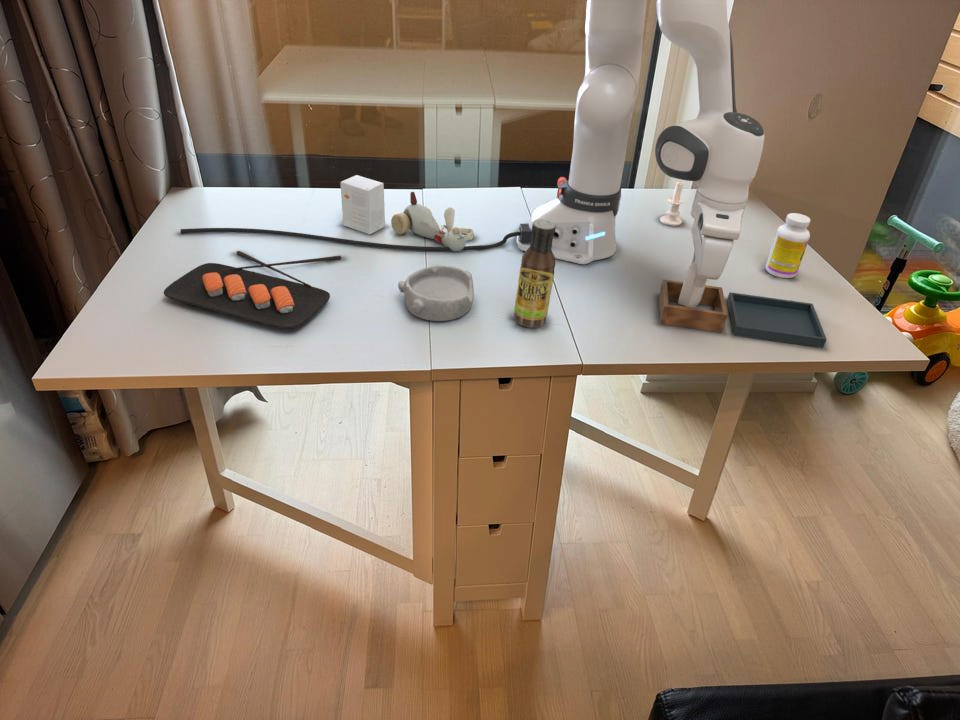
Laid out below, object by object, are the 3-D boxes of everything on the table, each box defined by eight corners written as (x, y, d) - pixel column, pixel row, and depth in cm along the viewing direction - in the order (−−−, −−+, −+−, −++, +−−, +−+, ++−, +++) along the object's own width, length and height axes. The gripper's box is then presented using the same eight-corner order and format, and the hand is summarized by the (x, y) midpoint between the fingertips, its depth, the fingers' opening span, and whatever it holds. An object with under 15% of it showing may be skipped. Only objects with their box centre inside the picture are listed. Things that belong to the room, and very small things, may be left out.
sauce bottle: (510, 326, 133) (519, 227, 121) (517, 309, 138) (527, 212, 126) (543, 332, 132) (557, 233, 120) (550, 316, 137) (563, 218, 125)
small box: (385, 227, 164) (384, 183, 158) (369, 235, 160) (368, 190, 154) (358, 217, 167) (356, 174, 161) (342, 225, 163) (339, 181, 157)
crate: (660, 323, 137) (664, 305, 134) (658, 296, 145) (662, 279, 143) (722, 332, 135) (727, 314, 133) (717, 304, 144) (722, 287, 141)
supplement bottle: (798, 281, 154) (818, 226, 147) (766, 276, 155) (784, 221, 148) (793, 267, 159) (812, 213, 152) (763, 263, 160) (780, 209, 153)
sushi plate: (157, 302, 132) (153, 284, 130) (253, 237, 156) (251, 221, 153) (295, 339, 125) (293, 321, 123) (374, 266, 148) (373, 249, 146)
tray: (733, 335, 135) (736, 326, 134) (726, 300, 145) (729, 292, 144) (823, 348, 133) (826, 339, 132) (809, 312, 144) (812, 303, 142)
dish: (467, 284, 144) (469, 262, 142) (482, 321, 134) (484, 298, 131) (395, 288, 141) (395, 266, 139) (405, 326, 131) (405, 303, 128)
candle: (681, 218, 178) (691, 178, 172) (681, 227, 174) (691, 186, 167) (660, 215, 178) (669, 175, 172) (660, 224, 174) (669, 183, 168)
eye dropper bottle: (707, 307, 139) (725, 251, 132) (682, 309, 137) (698, 253, 130) (695, 295, 142) (712, 240, 135) (670, 297, 140) (686, 242, 133)
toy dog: (459, 257, 154) (461, 218, 149) (381, 239, 159) (380, 201, 153) (479, 235, 163) (482, 198, 158) (405, 218, 168) (405, 182, 163)
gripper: (695, 184, 137) (677, 249, 145) (704, 230, 120) (683, 300, 128) (729, 189, 136) (709, 254, 144) (742, 235, 120) (718, 306, 128)
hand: (697, 276), depth 136 cm, fingers closed on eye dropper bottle, 5 cm apart
